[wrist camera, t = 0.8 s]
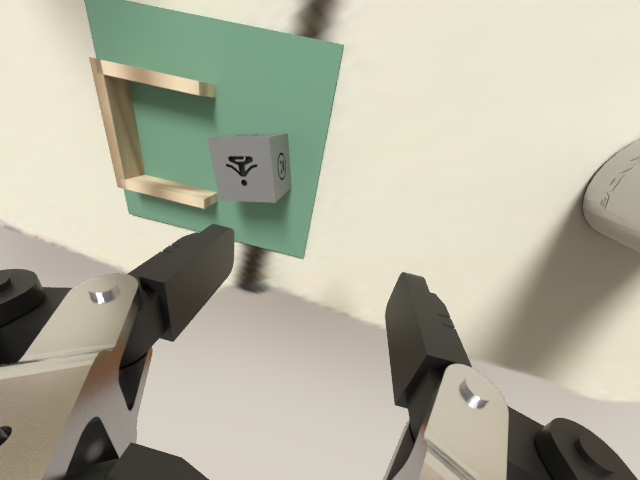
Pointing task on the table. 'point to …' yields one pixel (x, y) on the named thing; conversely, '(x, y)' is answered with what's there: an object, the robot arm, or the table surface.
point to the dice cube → (251, 166)
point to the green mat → (222, 111)
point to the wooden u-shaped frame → (125, 134)
